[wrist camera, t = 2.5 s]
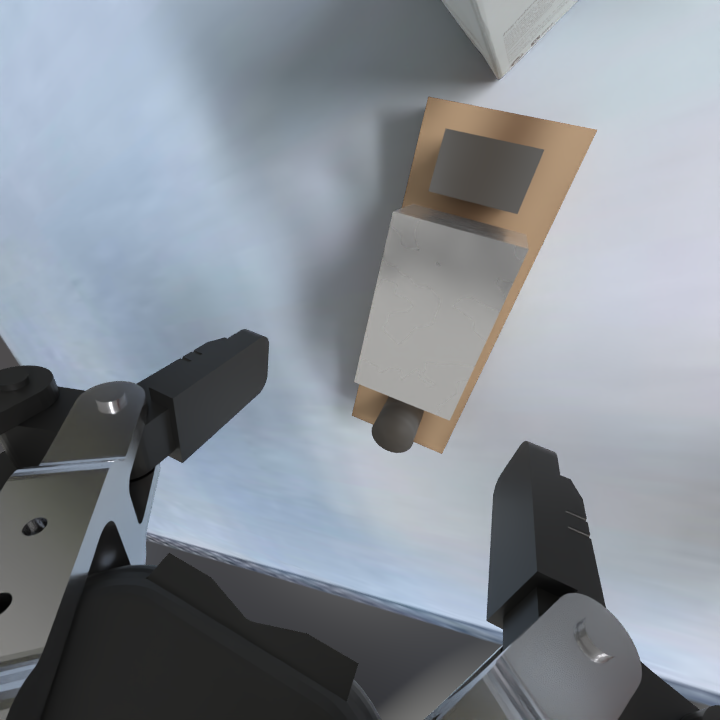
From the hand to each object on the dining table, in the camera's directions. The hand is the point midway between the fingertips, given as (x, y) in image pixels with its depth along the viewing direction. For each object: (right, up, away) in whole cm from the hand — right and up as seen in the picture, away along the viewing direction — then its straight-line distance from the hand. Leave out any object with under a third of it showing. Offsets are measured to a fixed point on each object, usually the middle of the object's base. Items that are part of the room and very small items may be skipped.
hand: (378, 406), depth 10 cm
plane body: (+6, +6, +14) cm, 16 cm away
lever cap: (+4, +5, +8) cm, 10 cm away
